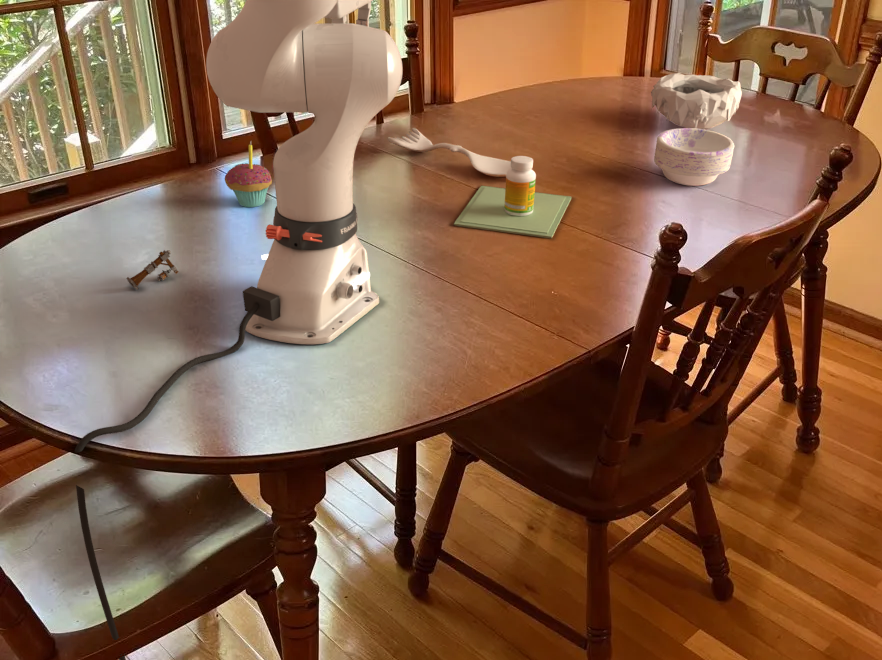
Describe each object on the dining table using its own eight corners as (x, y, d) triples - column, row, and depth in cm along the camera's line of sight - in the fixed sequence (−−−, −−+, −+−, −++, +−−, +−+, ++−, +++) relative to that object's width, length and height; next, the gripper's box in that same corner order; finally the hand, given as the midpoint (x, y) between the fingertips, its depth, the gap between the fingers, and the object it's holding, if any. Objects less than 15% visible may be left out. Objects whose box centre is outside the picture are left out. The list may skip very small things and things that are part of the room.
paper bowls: (696, 197, 179) (704, 157, 174) (636, 175, 188) (641, 136, 183) (742, 180, 187) (750, 141, 182) (681, 160, 196) (688, 122, 191)
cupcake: (283, 202, 173) (277, 138, 165) (246, 215, 167) (239, 149, 160) (255, 190, 177) (248, 127, 170) (218, 202, 172) (210, 137, 165)
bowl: (746, 140, 208) (756, 95, 202) (655, 138, 208) (663, 92, 202) (725, 113, 224) (733, 70, 218) (641, 111, 224) (647, 68, 218)
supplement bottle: (531, 218, 168) (535, 165, 162) (502, 215, 168) (505, 162, 163) (534, 207, 172) (538, 155, 166) (506, 204, 173) (509, 153, 167)
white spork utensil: (413, 141, 203) (413, 125, 200) (533, 175, 187) (534, 158, 185) (386, 151, 197) (385, 135, 195) (508, 187, 181) (509, 170, 179)
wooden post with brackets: (184, 269, 147) (170, 248, 143) (146, 301, 145) (130, 281, 141) (179, 266, 148) (164, 245, 144) (140, 297, 146) (124, 276, 142)
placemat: (551, 238, 162) (551, 235, 162) (453, 225, 166) (453, 222, 165) (571, 198, 177) (571, 195, 177) (481, 187, 181) (481, 184, 181)
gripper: (343, -45, 139) (348, 52, 148) (388, -63, 155) (389, 25, 163) (305, -47, 141) (311, 49, 149) (353, -65, 156) (356, 23, 165)
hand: (352, 36), depth 156 cm, fingers open, 8 cm apart
